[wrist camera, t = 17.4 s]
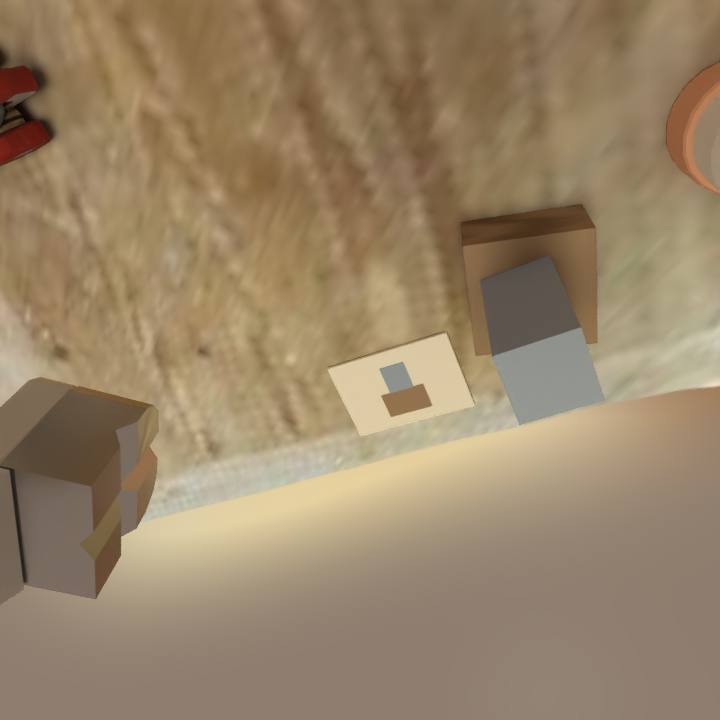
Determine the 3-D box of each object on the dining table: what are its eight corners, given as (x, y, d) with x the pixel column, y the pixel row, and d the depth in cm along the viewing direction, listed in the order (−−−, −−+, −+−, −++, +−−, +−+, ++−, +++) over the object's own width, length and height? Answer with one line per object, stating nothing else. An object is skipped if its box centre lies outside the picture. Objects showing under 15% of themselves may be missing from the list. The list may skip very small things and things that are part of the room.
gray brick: (502, 338, 43) (519, 424, 34) (480, 280, 41) (492, 356, 32) (569, 315, 42) (604, 399, 33) (549, 255, 40) (581, 327, 31)
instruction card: (361, 434, 54) (360, 436, 54) (327, 367, 51) (326, 370, 51) (474, 403, 52) (474, 406, 51) (446, 331, 48) (446, 333, 48)
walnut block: (473, 322, 48) (475, 355, 44) (461, 220, 44) (462, 246, 40) (583, 310, 47) (597, 342, 42) (581, 203, 43) (595, 227, 38)
